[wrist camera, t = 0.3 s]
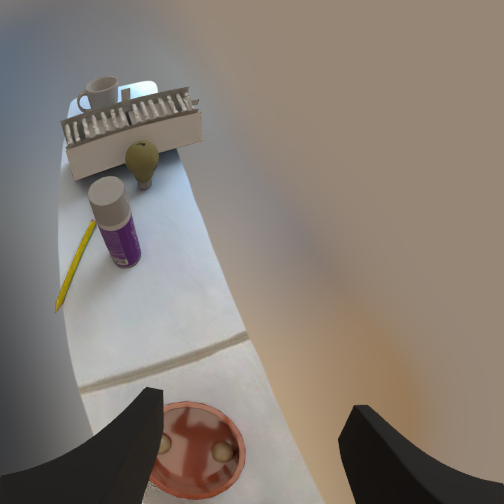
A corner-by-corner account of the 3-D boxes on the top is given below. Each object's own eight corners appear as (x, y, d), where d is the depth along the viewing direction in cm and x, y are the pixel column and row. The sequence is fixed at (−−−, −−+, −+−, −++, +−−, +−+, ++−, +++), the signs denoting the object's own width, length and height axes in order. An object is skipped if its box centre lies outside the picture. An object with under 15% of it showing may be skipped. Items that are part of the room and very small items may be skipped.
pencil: (96, 224, 45) (91, 221, 45) (97, 221, 45) (92, 218, 44) (58, 315, 37) (52, 312, 36) (58, 314, 36) (52, 311, 36)
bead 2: (231, 461, 31) (234, 465, 29) (209, 459, 31) (210, 463, 29) (233, 442, 33) (236, 444, 30) (211, 440, 32) (212, 442, 30)
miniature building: (194, 117, 60) (211, 152, 59) (70, 153, 49) (79, 194, 48) (206, 73, 48) (227, 110, 47) (57, 110, 37) (64, 155, 36)
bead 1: (170, 454, 30) (168, 457, 28) (148, 450, 30) (145, 453, 28) (172, 434, 32) (170, 436, 29) (150, 430, 32) (147, 432, 29)
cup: (124, 116, 59) (121, 85, 52) (83, 130, 55) (76, 99, 48) (117, 101, 62) (114, 72, 55) (79, 114, 58) (74, 85, 51)
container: (146, 257, 44) (132, 192, 31) (121, 274, 42) (96, 213, 29) (131, 236, 45) (114, 169, 32) (107, 252, 43) (81, 188, 30)
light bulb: (157, 172, 53) (155, 130, 44) (163, 194, 50) (160, 152, 42) (128, 179, 51) (121, 137, 42) (132, 201, 48) (124, 159, 40)
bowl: (235, 492, 29) (241, 503, 25) (140, 480, 28) (132, 489, 24) (242, 408, 36) (249, 408, 31) (148, 395, 34) (142, 393, 30)
